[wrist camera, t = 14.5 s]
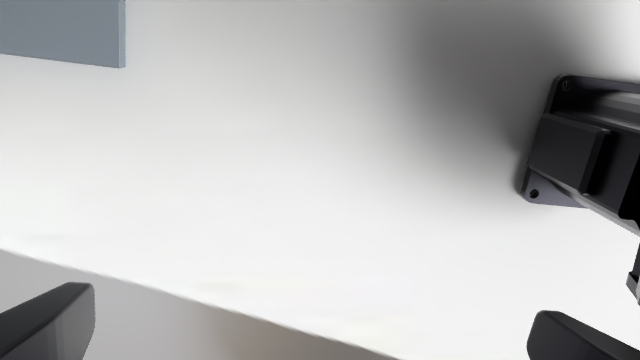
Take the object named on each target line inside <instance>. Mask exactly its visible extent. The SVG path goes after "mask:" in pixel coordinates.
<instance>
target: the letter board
mask: <svg viewBox="0 0 640 360" xmlns="http://www.w3.org/2000/svg"><path fill="white" fill-rule="evenodd" d="M0 54H8V55H16V56H24V57H32V58H40V59H48V60H56V61H64V62H72V63H80V64H88V65H96V66H104V67H112V68H123V67H125V0H0Z"/></svg>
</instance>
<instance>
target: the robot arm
mask: <svg viewBox="0 0 640 360" xmlns="http://www.w3.org/2000/svg"><path fill="white" fill-rule="evenodd" d="M565 81H566V82H567V86H566V88H565V89H562V84H563V83H564V82H565ZM534 189H535V192H534V194H533V195H531V196H530V192H531V191H532V190H534ZM521 196H522V198H523V199H525V200H526V201H528V202H530V203H536V204H547V205H557V206H567V207H578V208H588V209H591V210H593V211H594V212H596V213H598V214H600V215H602V216H603V217H605V218H607V219H609V220H611V221H612V222H614V223H616V224H618V225H619V226H621V227H623V228H625V229H627V230H628V231H630V232H632V233H634V234H636V235H637V236H639V237H640V85H638V84H631V83H623V82H616V81H609V80H602V79H595V78H588V77H581V76H574V75H566V74H562V75H559V76H557V77H556V78H555V79H554V81H553V83H552V86H551V90H550V93H549V97H548V100H547V104H546V107H545V110H544V114H543V116H542V117H541V119H540V123H539V126H538V129H537V133H536V136H535V140H534V143H533V147H532V150H531V153H530V157H529V160H528V169H527V172H526V176H525V179H524V182H523V186H522V189H521ZM626 285H627V287H628V288H629V289H630V291H631V292H632V293H633V295H634V296H635V297H636V299H637V301H638V304H639V306H640V244H639V248H638V251H637V255H636V259H635V263H634V267H633V271H631V272H629V274H628V278H627V281H626ZM94 296H95V295H94V288H93V285H92V284H90V283H81V282H68V283H65V284H63V285H61V286H59V287H56V288H54V289H52V290H50V291H48V292H46V293H43V294H41V295H39V296H37V297H35V298H33V299H31V300H28V301H26V302H24V303H22V304H20V305H18V306H16V307H13V308H11V309H9V310H7V311H5V312H2V313H0V360H82V359H83V357H84V354H85V352H86V349H87V347H88V345H89V342H90V339H91V337H92V335H93V332H94V327H95V297H94ZM527 352H528V355H529V358H530V360H640V351H639V350H637V349H635V348H633V347H631V346H629V345H627V344H625V343H623V342H621V341H619V340H617V339H615V338H613V337H611V336H609V335H607V334H605V333H603V332H601V331H598V330H596V329H594V328H592V327H590V326H588V325H586V324H584V323H582V322H580V321H578V320H576V319H574V318H572V317H570V316H568V315H566V314H564V313H562V312H559V311H547V310H542V311H540V312H538V313H537V314H536V317H535V319H534V322H533V325H532V328H531V331H530V334H529V337H528V340H527Z"/></svg>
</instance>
